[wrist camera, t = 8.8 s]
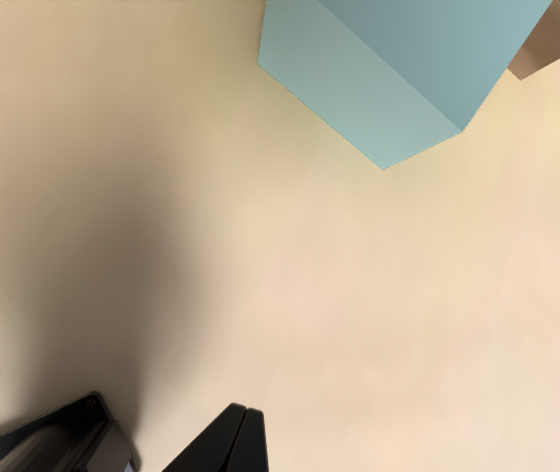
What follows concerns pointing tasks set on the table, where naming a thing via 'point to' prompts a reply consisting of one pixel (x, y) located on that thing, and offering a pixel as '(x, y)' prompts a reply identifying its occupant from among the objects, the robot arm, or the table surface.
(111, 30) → the table surface
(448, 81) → the block
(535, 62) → the board
